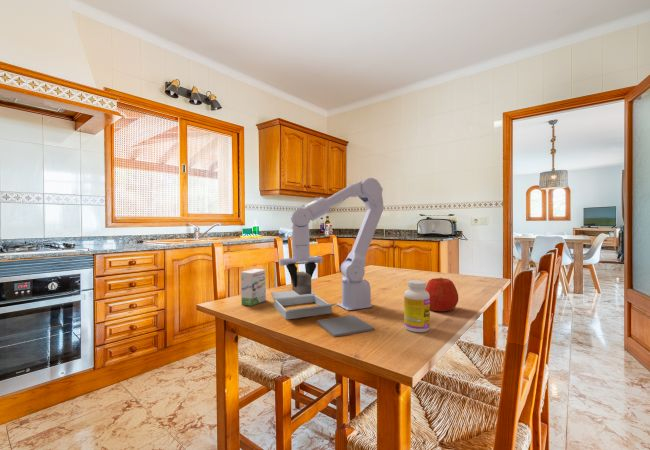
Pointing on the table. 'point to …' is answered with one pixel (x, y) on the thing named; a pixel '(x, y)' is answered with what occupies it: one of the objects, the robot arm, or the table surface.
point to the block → (303, 284)
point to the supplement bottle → (417, 307)
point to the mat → (344, 325)
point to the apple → (442, 294)
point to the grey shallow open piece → (294, 298)
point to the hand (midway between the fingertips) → (301, 285)
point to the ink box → (253, 286)
